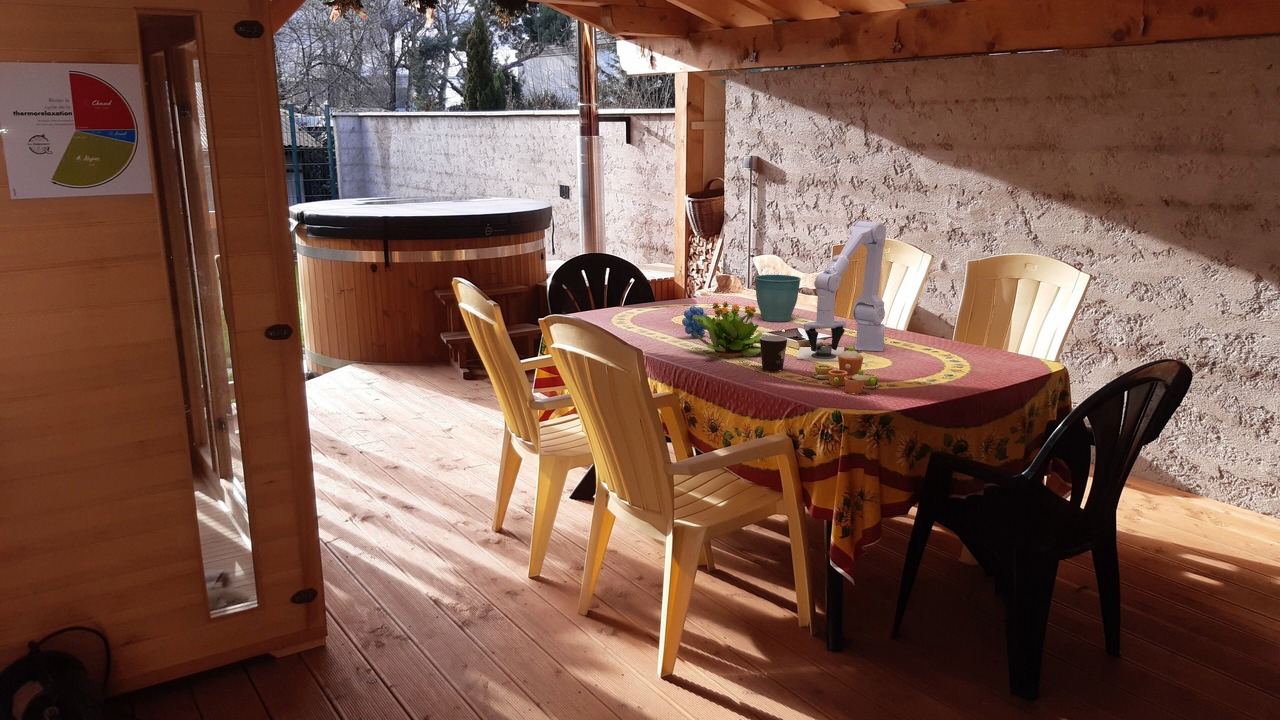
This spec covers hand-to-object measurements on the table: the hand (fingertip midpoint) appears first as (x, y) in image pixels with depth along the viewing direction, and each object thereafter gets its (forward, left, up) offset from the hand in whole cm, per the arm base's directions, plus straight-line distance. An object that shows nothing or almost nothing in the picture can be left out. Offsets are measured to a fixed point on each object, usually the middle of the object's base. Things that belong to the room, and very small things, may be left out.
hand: (823, 350), depth 313 cm
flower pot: (+21, -64, -3) cm, 67 cm away
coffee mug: (+14, +18, -3) cm, 23 cm away
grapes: (+46, -21, -3) cm, 51 cm away
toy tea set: (-9, +31, -3) cm, 33 cm away
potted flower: (+32, +2, -3) cm, 32 cm away
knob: (0, 0, -2) cm, 2 cm away
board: (+1, -6, -3) cm, 7 cm away
